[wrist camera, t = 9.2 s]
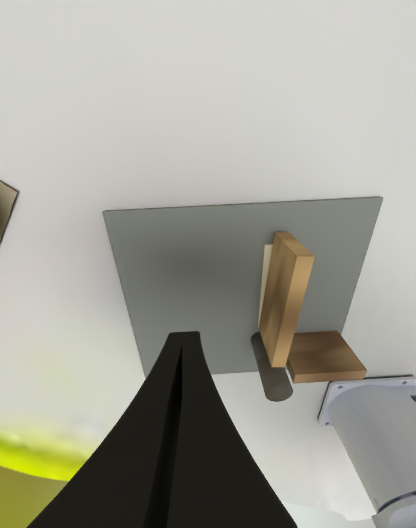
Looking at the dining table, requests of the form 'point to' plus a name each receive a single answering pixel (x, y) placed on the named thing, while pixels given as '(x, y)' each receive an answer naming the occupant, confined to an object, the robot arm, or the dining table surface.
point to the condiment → (5, 205)
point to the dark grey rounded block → (307, 362)
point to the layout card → (233, 270)
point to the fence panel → (284, 295)
